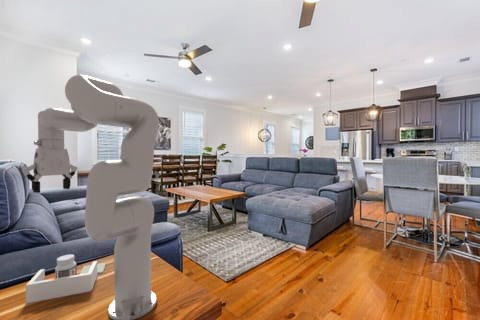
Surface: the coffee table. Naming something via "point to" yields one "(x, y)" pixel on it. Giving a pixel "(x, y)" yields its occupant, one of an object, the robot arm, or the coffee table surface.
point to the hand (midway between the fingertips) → (52, 190)
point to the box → (59, 285)
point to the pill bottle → (65, 266)
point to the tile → (99, 268)
